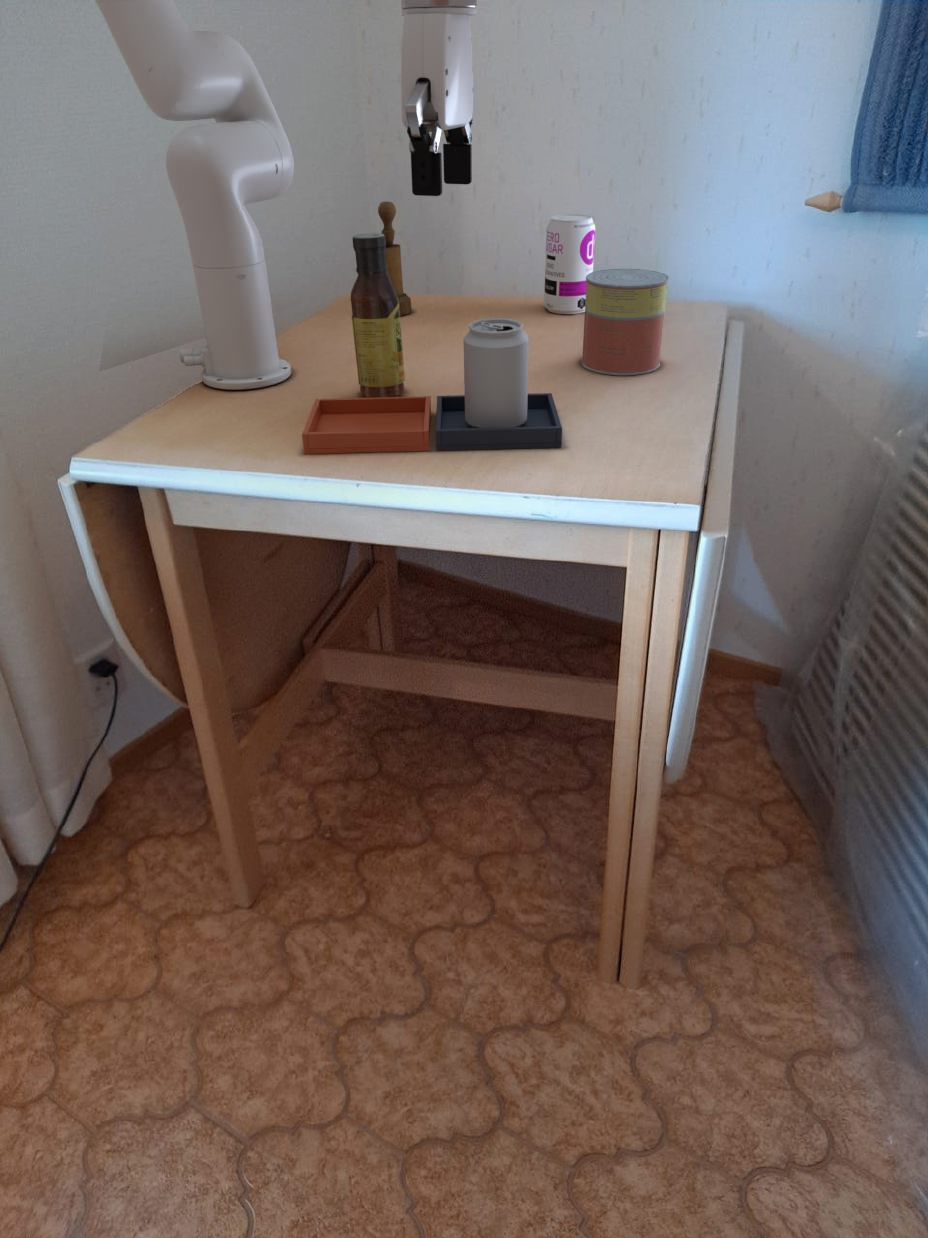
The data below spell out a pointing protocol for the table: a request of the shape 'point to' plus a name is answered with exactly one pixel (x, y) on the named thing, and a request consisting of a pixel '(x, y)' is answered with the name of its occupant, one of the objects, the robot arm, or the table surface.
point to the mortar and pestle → (393, 255)
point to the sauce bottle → (376, 321)
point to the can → (496, 373)
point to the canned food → (624, 321)
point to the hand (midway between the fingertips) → (443, 189)
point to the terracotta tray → (368, 425)
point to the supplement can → (568, 262)
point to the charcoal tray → (534, 433)
